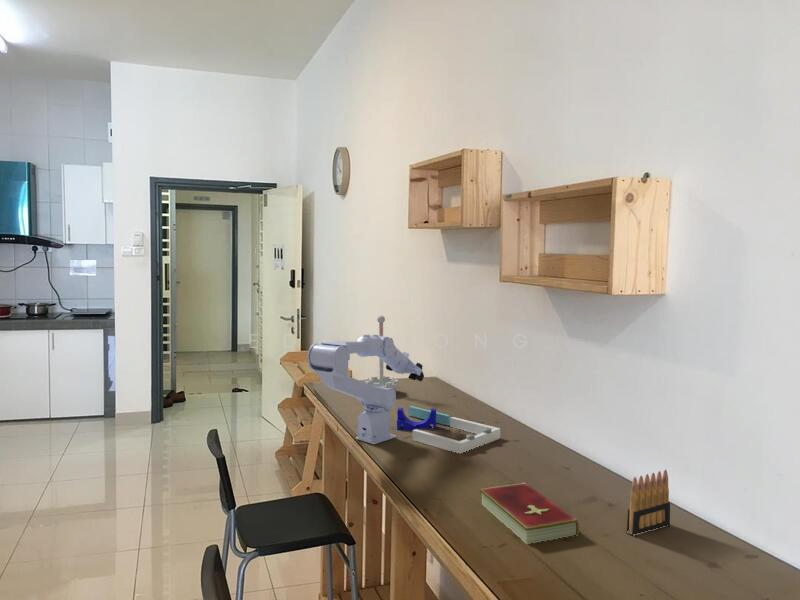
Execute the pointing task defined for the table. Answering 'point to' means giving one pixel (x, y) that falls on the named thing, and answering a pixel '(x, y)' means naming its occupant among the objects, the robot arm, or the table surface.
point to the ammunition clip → (649, 504)
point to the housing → (472, 441)
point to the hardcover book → (528, 513)
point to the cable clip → (407, 424)
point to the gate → (425, 414)
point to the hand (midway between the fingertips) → (412, 374)
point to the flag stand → (383, 380)
